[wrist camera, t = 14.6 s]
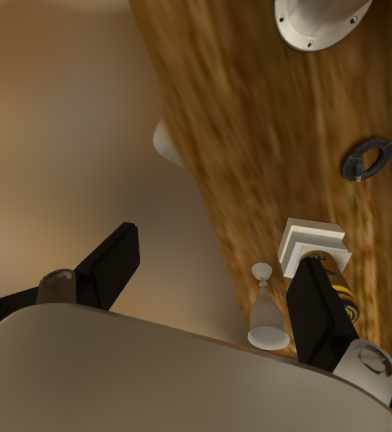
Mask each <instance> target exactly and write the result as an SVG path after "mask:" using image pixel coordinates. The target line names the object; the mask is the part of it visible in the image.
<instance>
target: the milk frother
mask: <svg viewBox="0 0 392 432" xmlns="http://www.w3.org/2000/svg"><path fill="white" fill-rule="evenodd" d="M372 148H381V149H382V156H381V158H380V160H379V161H378V163H377V164H376V165H375V166H374V167H373V168H372V169H370V170H369V171H367V172H366V171H365V170H364V167H363V161H362V156H361V155H362V154H363V153H365V152H366V151H368V150H370V149H372ZM391 152H392V142H391V141H389V140H386V139H383V138H377V139H372V140H369V141H367V142H365V143H363V144H362V145H360V146H359V147H358V148H356V149H355V150H354V151H353V152H352V153H351V154H350V156H349V157H348V158H347V159H346V161H345V162H344V164H343V167H342V175H343V177H344V178H345V179H346V180H348V181H358V182H359V181H360V180H364V179H367V178H369V177H371V176H373V175H375V174H376V173H378V172H379V171H380V169H381V168H383V167H384V165H385V164H386V163H387V162H388V160H389V158H390V156H391Z"/></svg>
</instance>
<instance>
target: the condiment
mask: <svg viewBox="0 0 392 432" xmlns="http://www.w3.org/2000/svg"><path fill="white" fill-rule="evenodd" d="M351 255H352V253H348V252H341V251H335V250H329V249H323V248H316V247H310V246H302V249H301V252H300V255H299V257H298V260H297V263H296V266H295V270H294V273H293V274H294V275H295V272H296V270H297V268H298V265H299V263H300V261H301V259H302V258H303V259H305V257H307V256H308V257H313V258H318V259H319V260H320V261H321V263H322V265H323V268H324V270H325V272H326V274H327V276H328V278H329V280H330V282H331V284H332V286H333V288H335V289H336V291H337V293H338V295H339V297H340V299H341V301H342V303H343V305H344V307H345V309H346V311H347V313H348V315H349V317H350V320H351V322H352V323H354V322H356V321H357V319H358V318H359V310H358V308H357V306H356V304H355V301H354V296H353V293H352V291H351V290H350V288H349V286H348V284H347V282H346V281H345V279H344V277H343V275H342V272H343V270H344V268H345V265H346V264H347V262H348V260H349V258H350V257H351Z"/></svg>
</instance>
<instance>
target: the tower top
mask: <svg viewBox="0 0 392 432" xmlns="http://www.w3.org/2000/svg"><path fill="white" fill-rule="evenodd" d="M302 246H310V247H316V248H323V249H329V250H335V251H341V252H347V251H348V250H347V248H346V247H345V245H344V244H343V243H342V241H341V240H340V238H334V237H328V236H322V235H315V234H309V233H303V232H296V231H292V233H291V236H290V239H289V242H288V245H287V247H286V250H285V253H284V256H283V259H282V262H281V266H282V271H283V276H284V277H289V278H293V277H294V274H293V273H294V270H295V266H296V263H297V260H298V257H299V255H300V252H301V249H302Z"/></svg>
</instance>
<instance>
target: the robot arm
mask: <svg viewBox="0 0 392 432" xmlns="http://www.w3.org/2000/svg"><path fill="white" fill-rule="evenodd" d="M372 1H373V0H274V16H275V23H276V27H277V30H278V32H279V34H280V36H281V38H282V39H283V40H284V42H285V43H286V44H287V45H289V46H290V47H291V48H293V49H295V50H298V51H301V52H317V51H320V50H323V49H326V48H328V47H330V46H332V45H334V44H336V43H337V42H339V41H340V40H342V39H343V38H344V37H345V36H346V35H348V34H349V33H350V32H351V31H352V30H353V29H354V28H355V27H356V26H357V25H358V23H359V22H360V21H361V19H362V18H363V16H364V15H365V13H366V12H367V10H368V8H369V7H370V5H371V3H372ZM281 18H282V19H283V21H282V22H280V19H281ZM351 20H353V23H352V24H351V23H350V21H351ZM308 44H310V47H307V45H308ZM139 264H140V254H139V241H138V229H137V227H136V226H135V224H134V223H129V222H124V223H122V224H121V225H120V226H119V227H118V228H117V229H116V230H115V231H114V232H113V233H112V234H111V235H110V236H109V237H108V238H107V239H105V240H104V241H103V242H102V243H101V244H100V245H99V246H98V247H97V248H96V249H95V250H94V251H93V252H92V253H91V254H90V255H89V256H87V257H86V258H85V259H84V260H83V261H82V262H81V263H80V264H79V265H78V266H77V267H76V268H75V269H74V270H70V269H59V270H55V271H53V272H51V273H49V274H47V275H46V276H44V277H43V279H42V280H41V281H40V283H39V286H38V287H35V288H31V289H28V290H25V291H21V292H18V293H15V294H12V295H8V296H5V297H2V298H0V432H392V358H391V357H390V356H389V355H388V354H387V353H386V352H385V351H384V350H382V349H381V348H380V347H378V346H377V345H375V344H374V343H372V342H369V341H367V340H363V339H360V338H359V336H358V334H357V332H356V330H355V328H354V326H353V324H352V322H351V320H350V317H349V315H348V313H347V311H346V309H345V307H344V305H343V303H342V301H341V299H340V297H339V295H338V293H337V291H336V289H335V288H333V286H332V284H331V282H330V280H329V278H328V276H327V274H326V272H325V270H324V268H323V265H322V263H321V261H320V260H319V259H318V258H313V257H308V256H307V257H305V259H303V258H302V259H301V261H300V263H299V265H298V268H297V270H296V272H295V275H294V277H293V279H292V282H291V284H290V286H289V289H288V291H287V294H286V301H287V306H288V311H289V316H290V321H291V326H292V331H293V336H294V341H295V345H296V350H297V355H298V360H299V362H297V361H293V360H290V359H286V358H283V357H280V356H276V355H273V354H269V353H265V352H262V351H258V350H254V349H250V348H247V347H243V346H240V345H236V344H232V343H228V342H225V341H221V340H217V339H214V338H210V337H206V336H203V335H199V334H195V333H191V332H188V331H184V330H180V329H176V328H172V327H169V326H165V325H161V324H157V323H153V322H150V321H145V320H142V319H138V318H134V317H130V316H126V315H123V314H119V313H114V312H111V311H109V309H110V308H111V306H112V305H113V303H114V302H115V300H116V299H117V297H118V296H119V294H120V293H121V292H122V290H123V289H124V287H125V285H126V284H127V283H128V281H129V280H130V278H131V277H132V275H133V274H134V272H135V271H136V269H137V268H138V266H139Z"/></svg>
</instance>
